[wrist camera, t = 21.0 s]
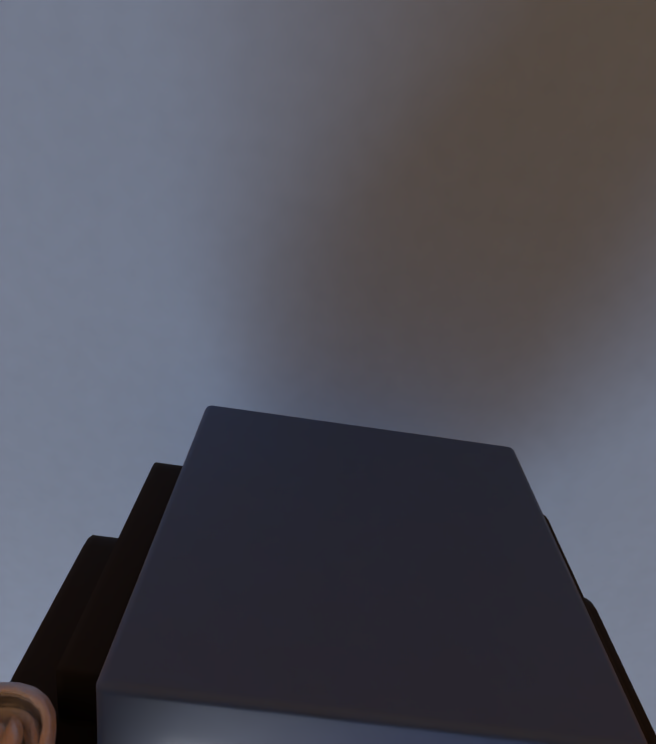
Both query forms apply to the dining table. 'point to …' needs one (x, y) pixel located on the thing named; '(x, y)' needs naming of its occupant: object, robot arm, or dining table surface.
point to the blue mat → (329, 257)
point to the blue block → (354, 600)
